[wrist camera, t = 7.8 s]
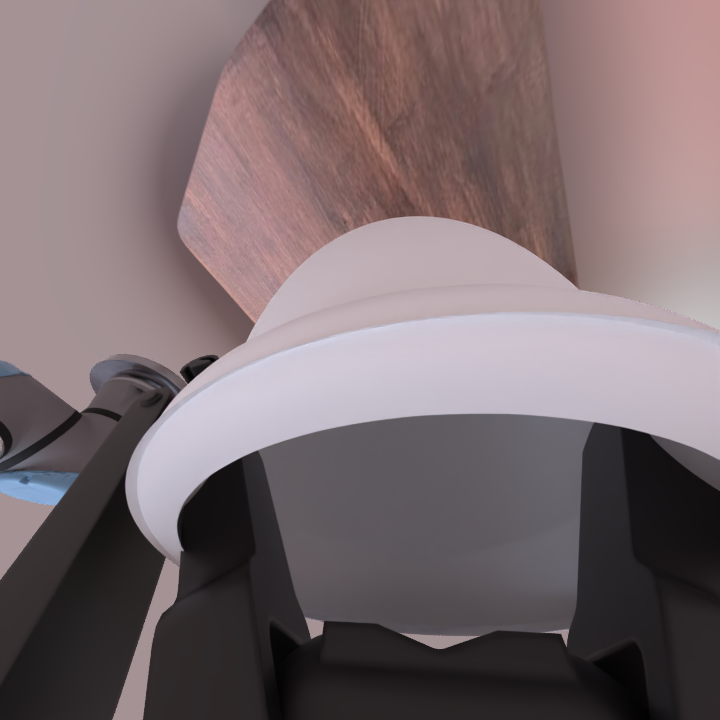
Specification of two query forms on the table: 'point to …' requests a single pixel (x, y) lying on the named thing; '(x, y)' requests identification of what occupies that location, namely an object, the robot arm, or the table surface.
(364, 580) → the jar
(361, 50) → the table surface
